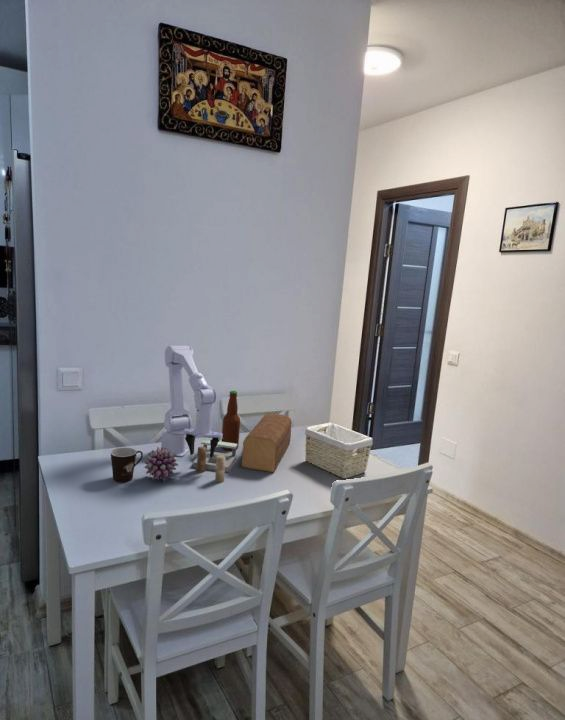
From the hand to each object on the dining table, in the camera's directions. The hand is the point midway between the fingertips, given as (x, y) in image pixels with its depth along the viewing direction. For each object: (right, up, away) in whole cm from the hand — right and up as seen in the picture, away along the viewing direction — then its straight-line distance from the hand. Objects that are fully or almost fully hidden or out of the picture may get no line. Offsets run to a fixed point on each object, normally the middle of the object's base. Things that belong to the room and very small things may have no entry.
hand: (201, 455), depth 180 cm
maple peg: (+7, -8, -6) cm, 12 cm away
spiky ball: (-13, -7, -9) cm, 17 cm away
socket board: (+4, -5, +9) cm, 11 cm away
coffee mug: (-25, -6, -10) cm, 27 cm away
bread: (+24, -5, +22) cm, 33 cm away
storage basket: (+52, -8, +17) cm, 55 cm away
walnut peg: (-1, -6, +1) cm, 6 cm away
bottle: (+7, -2, +27) cm, 28 cm away
